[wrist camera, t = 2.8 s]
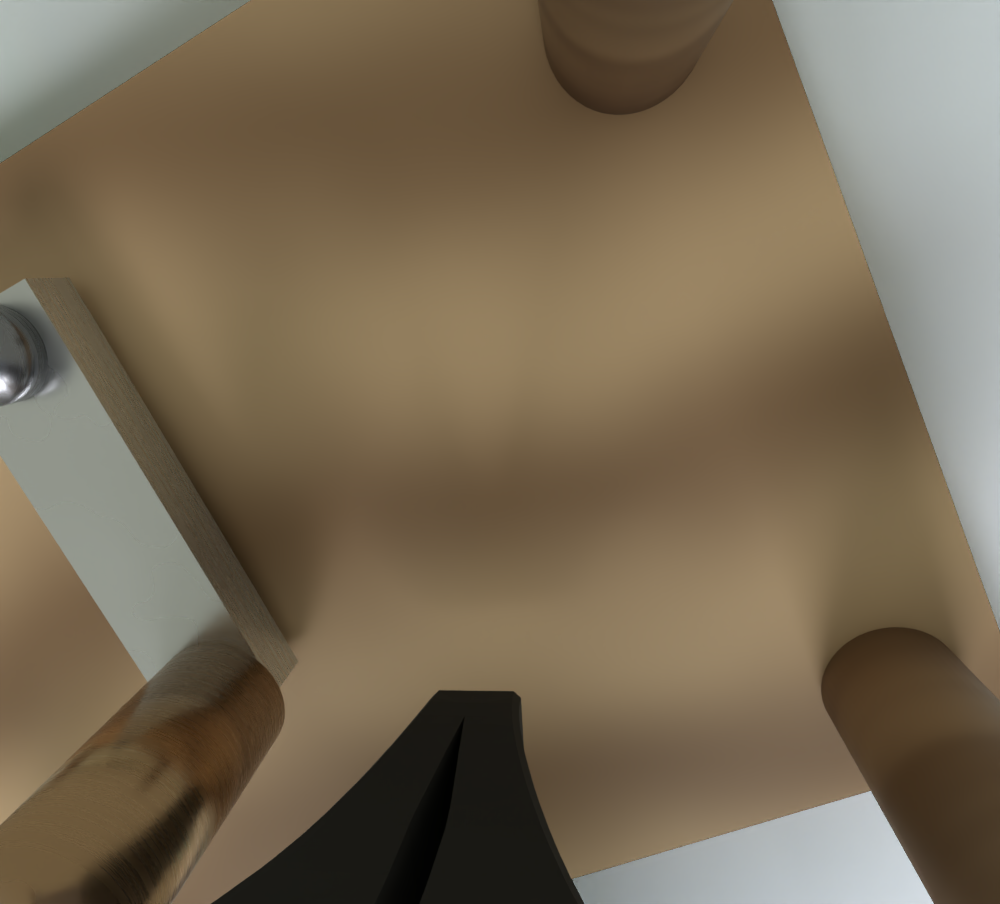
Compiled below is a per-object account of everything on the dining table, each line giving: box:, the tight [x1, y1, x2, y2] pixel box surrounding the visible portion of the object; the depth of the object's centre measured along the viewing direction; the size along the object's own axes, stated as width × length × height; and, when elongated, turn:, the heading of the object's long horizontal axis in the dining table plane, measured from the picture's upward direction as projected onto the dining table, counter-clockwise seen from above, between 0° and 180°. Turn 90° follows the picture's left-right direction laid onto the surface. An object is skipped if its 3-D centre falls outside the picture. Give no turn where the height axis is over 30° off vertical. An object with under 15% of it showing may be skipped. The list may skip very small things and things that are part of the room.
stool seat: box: [0, 0, 1000, 904], centre depth 11 cm, size 17×22×7 cm
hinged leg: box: [0, 278, 298, 904], centre depth 10 cm, size 9×2×6 cm, turn 26°
